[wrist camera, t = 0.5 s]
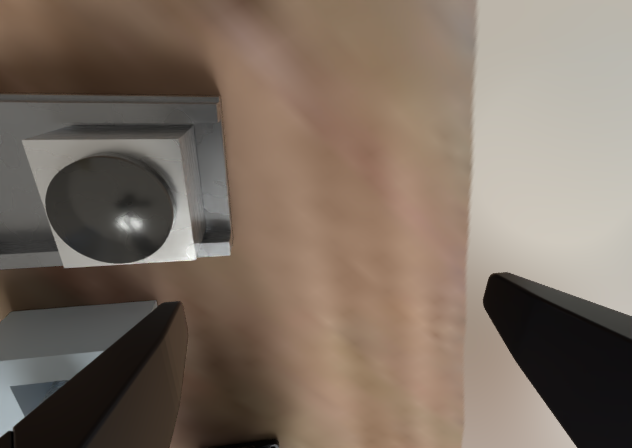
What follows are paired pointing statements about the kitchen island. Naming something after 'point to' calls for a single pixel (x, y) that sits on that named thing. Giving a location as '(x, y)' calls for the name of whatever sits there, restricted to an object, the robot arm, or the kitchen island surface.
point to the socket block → (55, 349)
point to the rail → (101, 110)
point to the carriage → (120, 193)
